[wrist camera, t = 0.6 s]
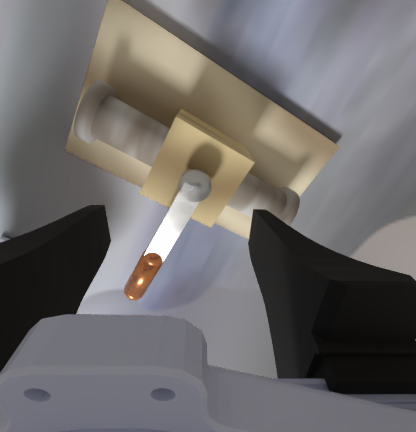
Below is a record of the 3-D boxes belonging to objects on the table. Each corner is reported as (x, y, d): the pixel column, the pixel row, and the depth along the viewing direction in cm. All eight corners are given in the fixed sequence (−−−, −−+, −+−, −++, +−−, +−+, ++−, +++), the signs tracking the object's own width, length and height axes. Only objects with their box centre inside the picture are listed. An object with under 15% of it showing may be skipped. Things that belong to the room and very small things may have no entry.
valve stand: (258, 240, 25) (273, 283, 20) (69, 148, 20) (22, 172, 15) (334, 144, 21) (380, 166, 15) (114, -4, 16) (69, -45, 11)
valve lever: (188, 159, 15) (187, 167, 14) (216, 174, 16) (217, 184, 14) (121, 284, 20) (115, 299, 19) (144, 292, 21) (140, 308, 19)
